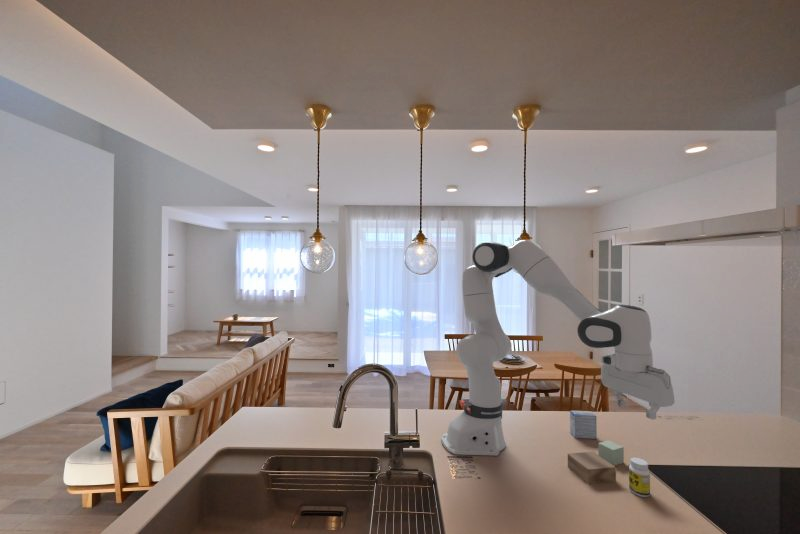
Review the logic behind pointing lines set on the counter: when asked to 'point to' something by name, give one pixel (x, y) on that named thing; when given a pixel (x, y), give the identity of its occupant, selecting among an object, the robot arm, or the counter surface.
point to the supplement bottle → (639, 477)
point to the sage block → (611, 452)
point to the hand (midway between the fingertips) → (635, 412)
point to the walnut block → (591, 467)
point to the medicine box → (583, 424)
